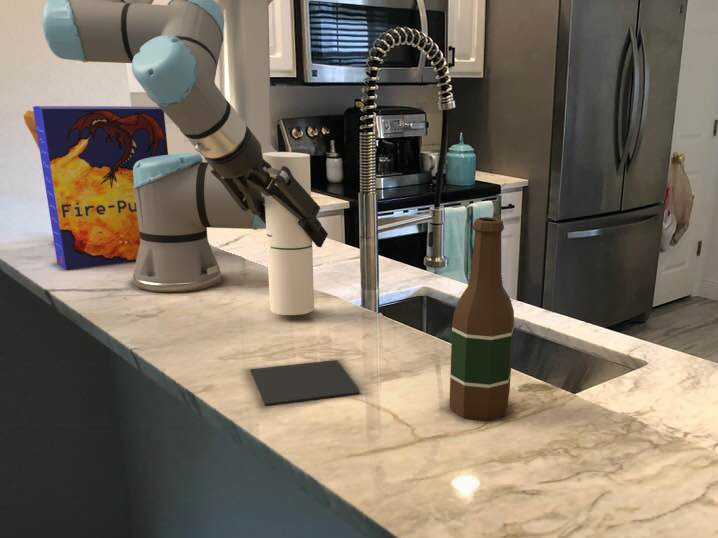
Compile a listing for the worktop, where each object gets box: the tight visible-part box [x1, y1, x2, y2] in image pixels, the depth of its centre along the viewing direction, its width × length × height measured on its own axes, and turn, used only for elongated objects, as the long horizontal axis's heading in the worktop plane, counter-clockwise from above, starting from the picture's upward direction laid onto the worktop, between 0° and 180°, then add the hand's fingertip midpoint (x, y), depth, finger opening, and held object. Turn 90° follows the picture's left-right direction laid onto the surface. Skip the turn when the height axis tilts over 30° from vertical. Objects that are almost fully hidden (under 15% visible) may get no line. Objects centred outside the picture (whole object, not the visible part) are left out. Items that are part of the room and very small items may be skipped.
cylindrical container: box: [262, 151, 315, 316], centre depth 123 cm, size 7×7×25 cm
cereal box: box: [32, 105, 169, 271], centre depth 151 cm, size 22×6×30 cm, turn 132°
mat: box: [250, 359, 360, 406], centre depth 101 cm, size 12×12×1 cm
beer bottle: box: [449, 216, 515, 422], centre depth 92 cm, size 8×8×24 cm
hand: (303, 237), depth 126 cm, fingers closed on cylindrical container, 7 cm apart
